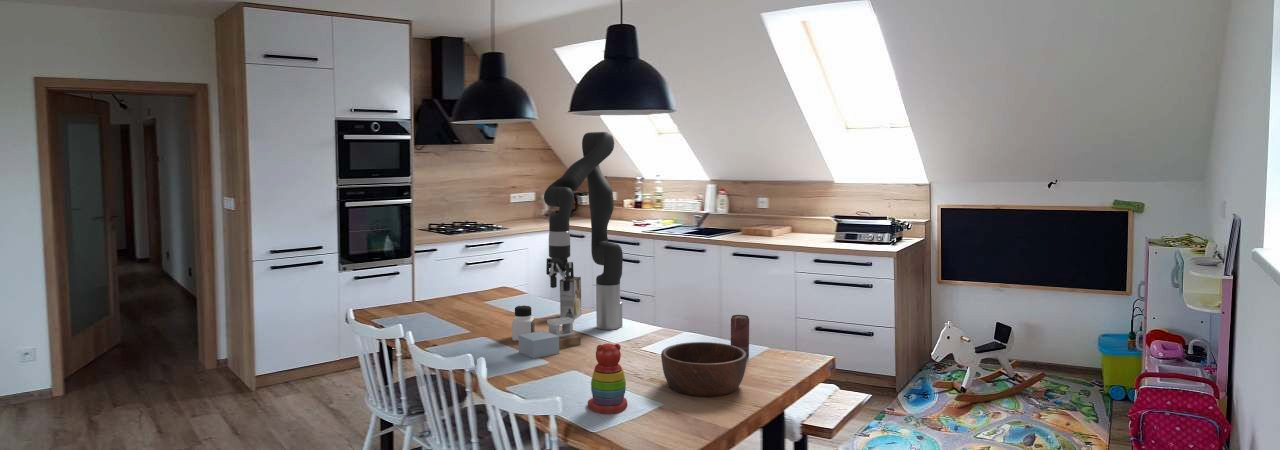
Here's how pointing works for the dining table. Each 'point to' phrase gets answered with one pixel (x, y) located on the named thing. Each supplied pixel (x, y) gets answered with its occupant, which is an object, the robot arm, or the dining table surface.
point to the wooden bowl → (703, 368)
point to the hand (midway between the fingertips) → (559, 289)
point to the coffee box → (571, 299)
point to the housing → (566, 326)
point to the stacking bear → (608, 381)
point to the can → (740, 332)
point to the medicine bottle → (522, 322)
